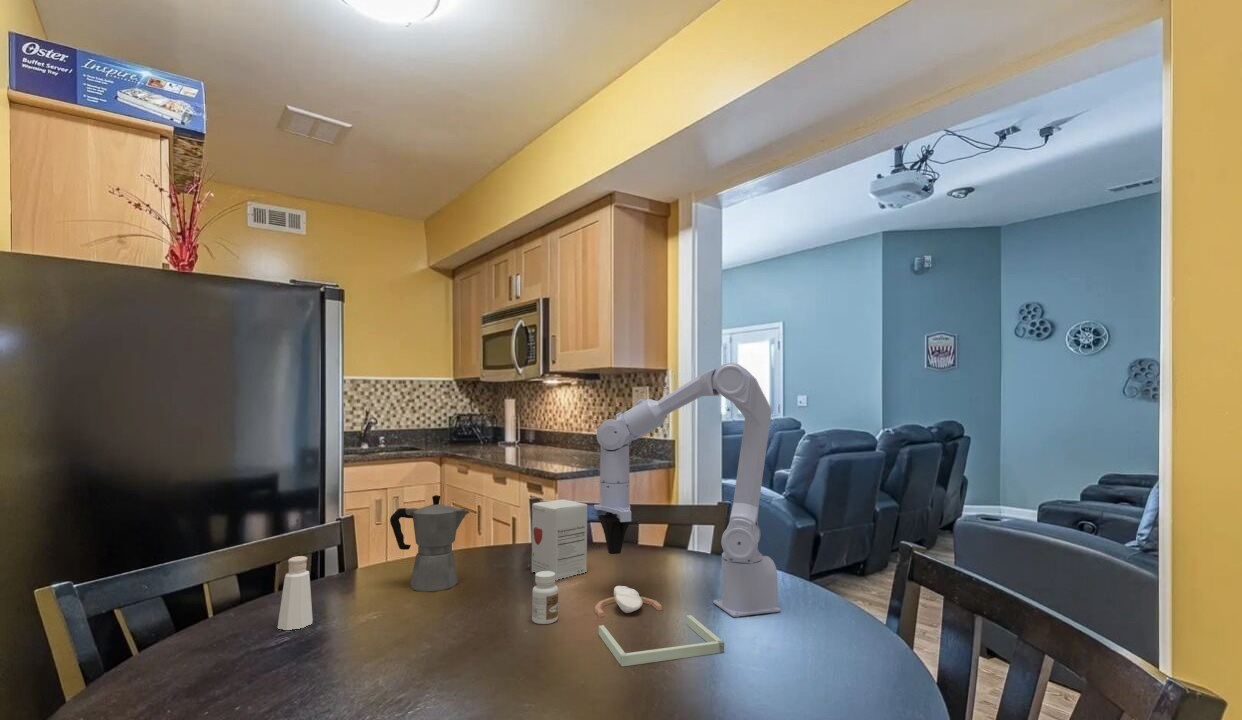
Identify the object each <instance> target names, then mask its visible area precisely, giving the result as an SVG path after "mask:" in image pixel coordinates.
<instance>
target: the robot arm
mask: <svg viewBox="0 0 1242 720" xmlns="http://www.w3.org/2000/svg"><path fill="white" fill-rule="evenodd" d="M720 395H721V396H722V397H723V398H724V399H726V400H728V401H730V402H731V403H732V404H734V406H735V407H736V408H737V410H738V411H739V412H740V413H741V414H742V415H743V417H744V422H743V431H742V437H741V444H740V451H739V459H738V464H737V466H738V467H737V473H736V481H735V487H734V495H733V501H732V508H731V511H730V516H729V522H728V524H727V527H726V529H725V530H724V532H723V533H722V535H721V539H720V540H721V543H720V544H721V547H722V550H723V552H722V553H721V594H722V595H721V599H713V601H712V603H713V604H714V605H716V606H717V607H718V608H720V609H722V610H723V611H724V612H726V613H727V614H728V615H730V616H732V617H733V618H738V617H745V616H754V615H762V614H771V613H779V612H781V608H780V607H779V603H778V602H779V598H778V597H779V595H778V594H779V592H778V590H779V589H778V588H779V587H778V586H779V585H778V584H779V583H778V571H777V566H776V563H775V562H774V560H773V559H772V558H771V557H770V556H768V555H763V554H762V553H761V552H760V550H759V548H758V547H759V545H758V544H759V542H760V540H761V528H760V526H759V522H758V519H759V518H758V517H759V508H760V507H759V506H760V500H761V499H760V498H761V491H762V485H763V477H764V470H765V469H764V468H765V463H766V456H767V448H768V439H769V433H770V426H771V419H772V418H771V417H772V408H771V405H770V404H769V402H768V400H767V397H766V396H765V394H764V392H763V390H762V388H761V386H760V385H759V381H758V380H757V378H756V377H755V376H754V375H753V374H752V373H750V371H749V370H747V368H745V367H743V366H742V365H740V364H738V363H737V362H736V363H735V362H726V363H723V364H722V365H720V366H719V367H718V368H717V369H716V368H713V369H710V370H708V371H706V372H704V373H702V374H700V375H698V376H696V377H694V378H692V379H691V380H689V381H688V382H686V383H685V384H683V385H681V386H680V387H678V388H677V389H674V390H673V391H672V392H670V393H668V394H666V395H665V396H663V397H662V398H661V399H659V400H654V399H651V398H647V399H644V398H640V399H639V400H637V401H636V402H635V403H636V405H635V406H633V407H631V408H629V409H628V410H627V411H624V412H618V413H616V414H615V417H616V419H612V418H610V419H605V421H604V422H602V423H601V424H600V425H599V427H598V429H597V430H596V441H597V443H598V444H599V446H600V457H599V460H600V461H599V462H600V463H599V503H598V504H594V505H593V509H594V510H596V511H603V512H606V513H605V514H599V515H597V518H598V520H599V522H600V524H601V527H602V530H603V533H604V538H605V543H606V549H607V553H608V554H610V555H618V554H621V552H622V548H623V544H624V539H625V536H626V533H627V530H628V527H629V526H630V524H631V523H632V511H631V504H630V445H631V443H632V442H633V441H636V440H638V439H640V438H642V437H643V436H645V435H647V434H648V433H650V432H652V431H654V430H656V429H657V428H660V427H661V426H663V425H664V423H665V419H666V417H667V415H669V414H671V413H672V412H673V413H674V412H675V411H677V410H679V409H681V408H682V407H684V406H686V405H688V404H690V403H692V402H694V401H696V400H698V399H700V398H701V397H710V396H711V397H713V396H715V397H716V396H719V397H720Z"/></svg>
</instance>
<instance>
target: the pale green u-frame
mask: <svg viewBox="0 0 1242 720" xmlns="http://www.w3.org/2000/svg"><path fill="white" fill-rule="evenodd" d="M685 619H686V620H685V621H686V622H685V623H686V625H687V626H688V627H689V629H692V631H694V632H695V633H696V634H697V636H699V637H700V638H702V639H703V640H704V641H705V642H700V643H692V644H684V645H677V646H671V647H670V646H669V647H663V648H655V649H648V650H647V649H646V650H641V651H633V652H625V651H624V650H623V648H622V647H621V646H620V644H619V643H618V642H617V641H616V639H615V638H614V637H613V635H612V634H611V632H610V631H609V630H608V629H607V627H606V626H605V625H604V624H603V625H598V636H599V637H600V638H601V640H602V642H603V643H604V644H605V645H606V647H607V648H608V650H609V651H610V652H611V654H612V656H613V657H614V658H615V659H616V661H617V662H618V663H619V664H618V665H620V667H627V666H628V667H629V666H635V665H642V664H644V665H645V664H651V663H658V662H665V661H671V660H677V659H679V660H680V659H686V658H687V659H688V658H692V657H693V658H694V657H699V656H706V655H708V656H709V655H714V654H720V653H721V654H722V653H725V642H724V641H723V640H722V639H721V638H719V636H717V634H716V635H715V634H714V632H712V631H711V630H709V628H707V627H706V626H705V625H703V624H702V623H701V622H700V621H699V620H697V619H696V618H695V617H694V616H693V615H691V614H689V615H686V618H685Z"/></svg>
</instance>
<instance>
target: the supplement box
mask: <svg viewBox="0 0 1242 720" xmlns="http://www.w3.org/2000/svg"><path fill="white" fill-rule="evenodd" d="M531 506H532V511H531V512H532V513H531V514H532V521H531V522H532V523H531V524H532V525H531V526H532V527H531V573H533V572H535V573H534V574H536V573H538V572H541V571H552V572H554V573H555V578H556V581H559V580H558V579H560V580H563V579H562V578H564V579H567V578H566V577H568V578H570V577H569V576H572V577H574V576H573V575H576V576H578V575H577V574H580V575H582V574H581V573H584V574H586V573H585V572H587V566H588V565H587V564H588V563H587V561H588V560H587V559H588V558H587V557H588V550H587V549H588V504H586V503H584V502H578V501H574V500H568V499H562V498H561V499H555V500H549V501H540V502H533V503H532V504H531ZM587 573H588V572H587Z"/></svg>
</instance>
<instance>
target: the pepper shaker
mask: <svg viewBox="0 0 1242 720" xmlns="http://www.w3.org/2000/svg"><path fill="white" fill-rule="evenodd" d="M307 562H308V557H307V556H303V555H300V556H299V555H298V556H292V557H291V558H289V559H288V572H287V573H285V576H284V581H283V587H282V593H281V594H282V595H281V601H280V608H279V616H278V622H277V626H276V627H277V628H278V629H283V630H292V629H300V628H304V627H306V626H308V625H311V624H312V625H313V607H312V592H311V578H310V577H311V576H310V571H309V570H307V565H308V563H307ZM312 625H311V626H312ZM308 627H309V626H308ZM306 628H307V627H306ZM278 629H277V630H278ZM304 629H305V628H304Z"/></svg>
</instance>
